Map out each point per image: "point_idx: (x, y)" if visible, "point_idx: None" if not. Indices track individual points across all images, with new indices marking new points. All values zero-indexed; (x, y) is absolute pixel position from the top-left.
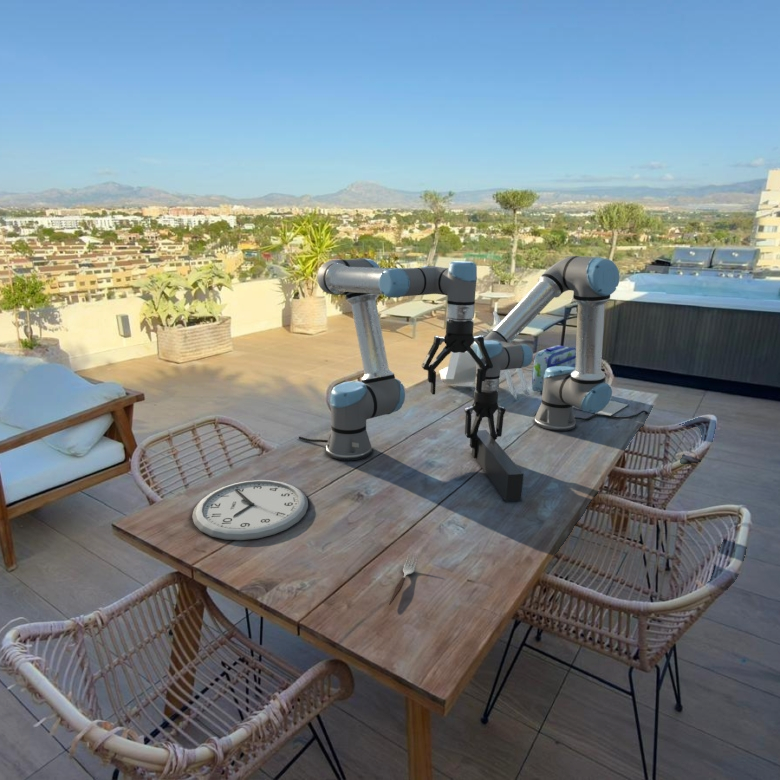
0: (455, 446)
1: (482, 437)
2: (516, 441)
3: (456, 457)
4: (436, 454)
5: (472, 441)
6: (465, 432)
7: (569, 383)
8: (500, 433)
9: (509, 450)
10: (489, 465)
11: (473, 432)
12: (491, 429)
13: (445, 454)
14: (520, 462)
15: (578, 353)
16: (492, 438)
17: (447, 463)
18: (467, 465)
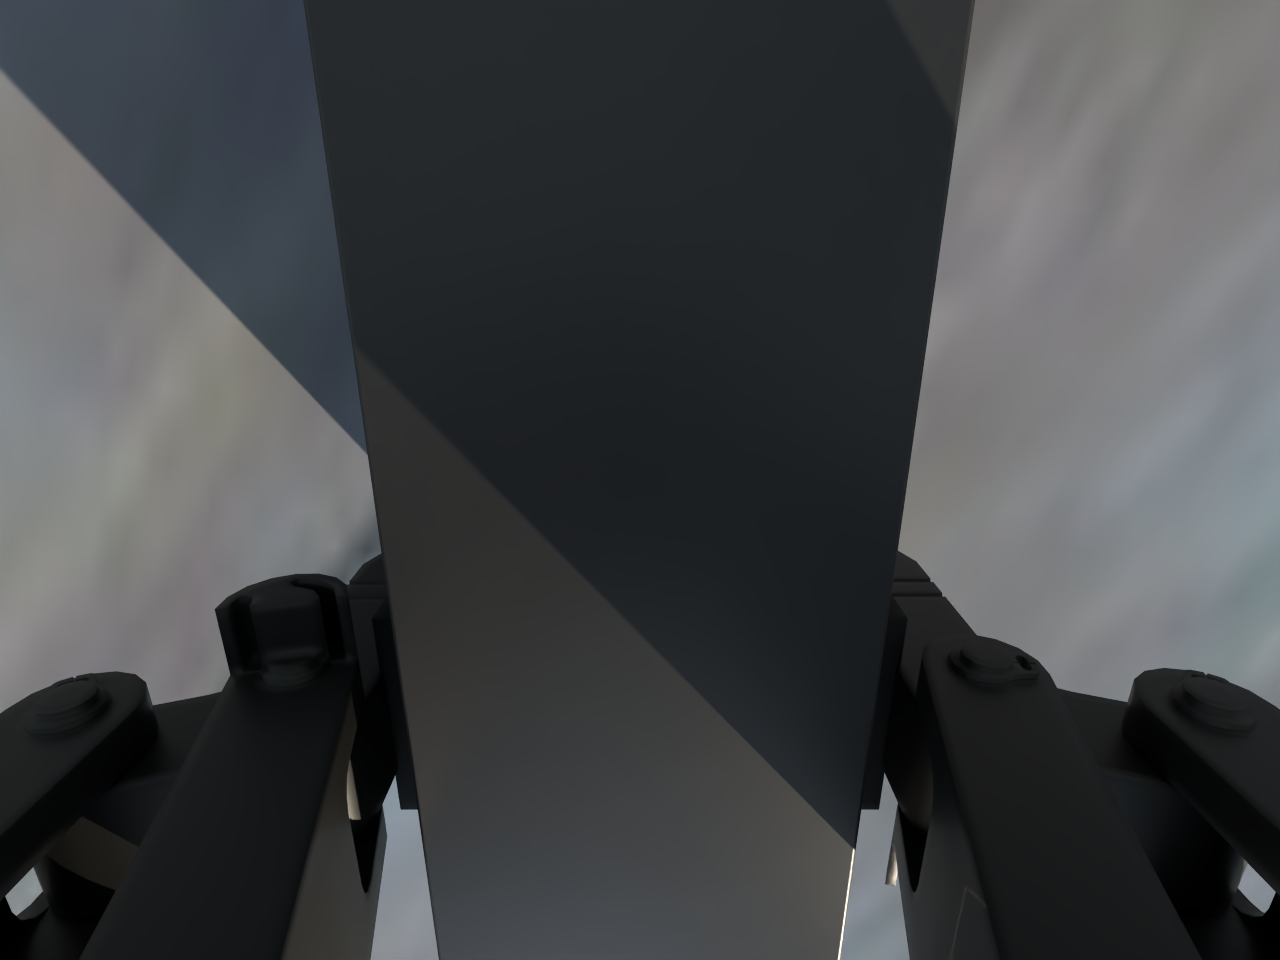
0: (877, 853)
1: (765, 573)
2: (16, 911)
3: (1020, 542)
4: (1258, 662)
5: (942, 628)
6: (1267, 914)
7: None
8: (1, 752)
9: (149, 683)
10: None
11: (1113, 830)
12: (289, 920)
13: (1131, 650)
14: (16, 251)
15: None
16: (403, 442)
17: (1270, 348)
18: (980, 233)
